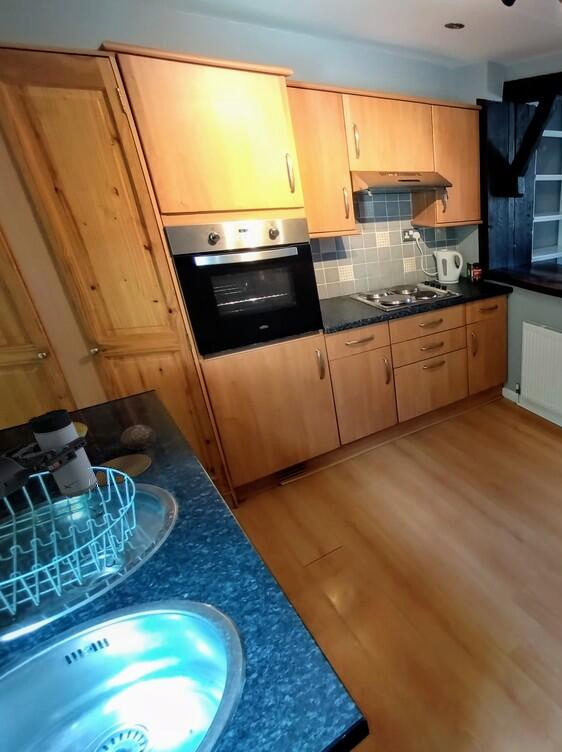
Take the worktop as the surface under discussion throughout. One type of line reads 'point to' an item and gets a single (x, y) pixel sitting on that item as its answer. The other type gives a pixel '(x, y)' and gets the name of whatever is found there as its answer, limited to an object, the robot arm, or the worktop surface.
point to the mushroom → (138, 437)
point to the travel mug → (54, 434)
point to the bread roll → (80, 429)
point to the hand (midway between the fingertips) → (71, 439)
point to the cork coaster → (125, 467)
